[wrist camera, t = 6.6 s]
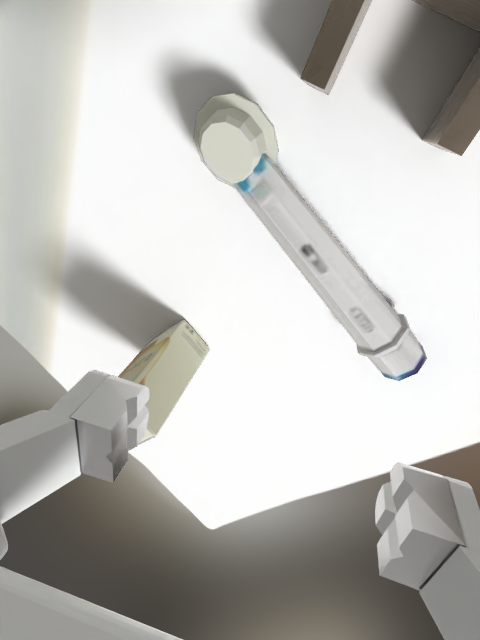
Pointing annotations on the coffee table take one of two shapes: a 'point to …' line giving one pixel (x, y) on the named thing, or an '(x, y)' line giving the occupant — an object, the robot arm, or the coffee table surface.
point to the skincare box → (166, 371)
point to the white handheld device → (302, 231)
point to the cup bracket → (461, 106)
